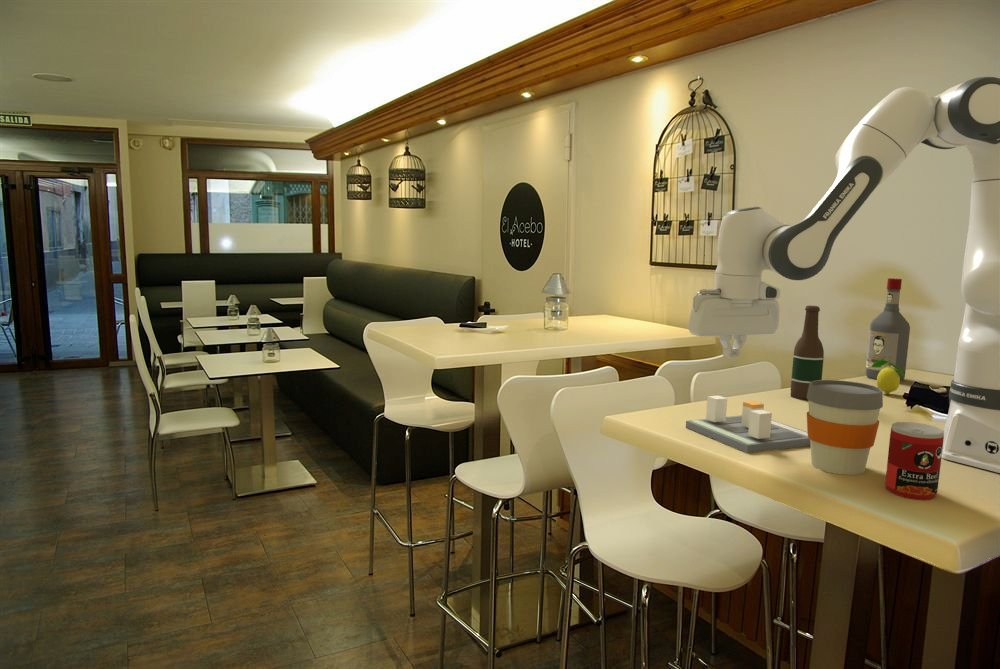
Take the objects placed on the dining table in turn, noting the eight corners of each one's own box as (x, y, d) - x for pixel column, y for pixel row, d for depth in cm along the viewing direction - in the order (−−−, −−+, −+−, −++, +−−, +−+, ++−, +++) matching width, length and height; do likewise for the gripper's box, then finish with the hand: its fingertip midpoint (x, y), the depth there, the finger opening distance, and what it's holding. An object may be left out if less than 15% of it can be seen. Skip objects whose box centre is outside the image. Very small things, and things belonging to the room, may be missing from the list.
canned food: (894, 498, 118) (901, 432, 116) (877, 482, 126) (883, 420, 124) (945, 502, 117) (953, 436, 115) (925, 485, 125) (932, 423, 123)
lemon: (868, 391, 200) (872, 355, 199) (889, 391, 200) (892, 355, 199) (882, 396, 193) (886, 359, 192) (903, 397, 194) (907, 360, 192)
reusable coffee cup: (856, 457, 140) (864, 380, 138) (889, 479, 127) (898, 395, 125) (790, 455, 140) (797, 378, 138) (817, 476, 128) (824, 393, 125)
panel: (820, 443, 148) (821, 436, 148) (747, 453, 140) (747, 445, 140) (754, 420, 165) (754, 413, 165) (685, 427, 158) (686, 420, 158)
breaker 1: (725, 421, 156) (727, 398, 155) (714, 422, 155) (716, 399, 154) (717, 417, 159) (718, 395, 158) (706, 418, 158) (707, 396, 157)
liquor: (879, 374, 225) (889, 277, 221) (908, 380, 217) (919, 279, 213) (861, 376, 221) (870, 277, 216) (889, 382, 213) (900, 280, 208)
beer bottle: (826, 400, 187) (834, 308, 183) (796, 400, 187) (804, 307, 183) (813, 394, 195) (821, 304, 191) (784, 393, 195) (791, 304, 191)
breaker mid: (762, 427, 152) (763, 404, 151) (750, 428, 151) (752, 405, 150) (752, 423, 154) (754, 400, 154) (741, 425, 153) (743, 401, 153)
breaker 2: (769, 437, 144) (771, 412, 144) (758, 438, 143) (760, 414, 142) (759, 433, 147) (761, 409, 146) (748, 435, 146) (749, 410, 145)
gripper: (705, 290, 139) (699, 361, 141) (787, 290, 147) (780, 357, 149) (684, 287, 145) (679, 355, 147) (764, 287, 153) (758, 352, 155)
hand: (731, 356), depth 148 cm, fingers closed
